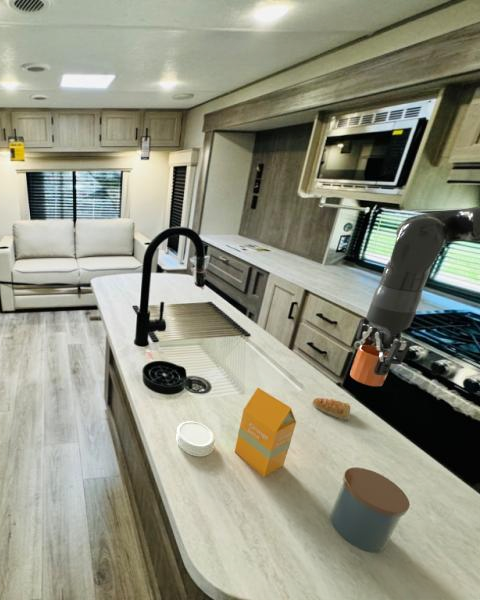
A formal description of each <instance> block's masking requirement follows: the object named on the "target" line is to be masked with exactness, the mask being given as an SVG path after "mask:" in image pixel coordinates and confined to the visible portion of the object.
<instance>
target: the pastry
mask: <svg viewBox="0 0 480 600" xmlns="http://www.w3.org/2000/svg"><path fill="white" fill-rule="evenodd" d="M312 406H314V408H316V409H317V410H318V411H320V412H323V413H324V414H326V415H328V416H331V417H334V418H338V420H343V421H348V420H349V419H350V417H351V405H350V403H348V402H343V401H340V400H337V399H335V398H324V397H316V398H315V399H313V400H312Z"/></svg>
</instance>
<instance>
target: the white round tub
mask: <svg viewBox="0 0 480 600" xmlns="http://www.w3.org/2000/svg"><path fill="white" fill-rule="evenodd" d="M175 439H176V444H177V445H178V447H179V448H180V449H181V450H182V451H183V452H185V453H187V454H188V455H189V456H190V455H191V456H194V457H207V456H209V455H211V453H212V452H213V451H214V447H215V442H216V439H215V434H214V433H213V431H212V430H211V429H210V428H209V427H207V426H206V425H205V424H204V423H200V422H197V421H192V420H191V421H189V420H188V421H184V422H182V423H180V424H179V425H178V426H177V428H176V434H175Z"/></svg>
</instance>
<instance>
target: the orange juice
mask: <svg viewBox="0 0 480 600" xmlns="http://www.w3.org/2000/svg"><path fill="white" fill-rule="evenodd" d="M241 415H242V416H241V420H240V425H239V428H238V432H237V439H236V444H235V448H234V453H236V454H237V455H238V456H239V457H240V459H242V460H244V462H246V463H247V464H248V465H249V466H251V467H252V468H253V469H254V470H255V471H256V472H257V473H258V474H260V475H261V476H262V477H263V478H265V477H267V476H268V475H270V474H272V473H273V472H276V471H277V470H278V469H280V468H283V467H284V464H285V462H286V458H287V455H288V451H289V449H290V446H291V442H292V438H293V435H294V432H295V429H296V424H297V421H296V418H295V416H294V412H293V410H292V407H291V406H289V405H287V404H286V403H284V402H282V401H281V400H279V399H277V398H276V397H275V396H272V395H271V394H269V393H268V392H266V391H265V390H263V389H261V388H260V387H257V388H256V390H255V391H254V393H253V394H252V395H251V397H250V399H249V401H248V402H247V404H246V405H245V406H244V408H243V410H242V414H241Z"/></svg>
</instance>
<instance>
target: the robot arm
mask: <svg viewBox="0 0 480 600" xmlns="http://www.w3.org/2000/svg"><path fill="white" fill-rule="evenodd" d="M395 233H396V234H395V235H396V239H395V241H394V245H393V249H392V252H391V255H390V259H389V260H388V262H387V263H386V265H385V266H384V269H383V272H382V274H381V277H380V280H379V284H378V286H377V287H376V288H375V289H376V290H375V291H374V294H373V296H372V300H371V303H370V305H369V308H368V310H367V314H366V317H361V318H360V320H359V321H360V322H359V326H358V330H357V333H356V340H359V346H361V345H373V346H376V349H377V351H378V352H379V360H378V362H377V365H376V367H375V370H374V373H375V374H376V375H386V374H387V373H389V372H390V369H389V368H391V366H392V365H401V364H402V363H403V361H404V359H405V357H406V356H407V353H408V352H409V350H410V348H411V346H412V344H411V342H410V341H404V340H403V339H402V331H404V330H406V329H409V328H410V327H411V324H412V322H413V320H414V317H415V314H416V313H417V310H418V307H419V305H420V302H421V299H422V295H423V291H424V288H425V286H426V283H427V280H428V278H429V275H430V272H431V269H432V266H433V264H434V263H435V262H436V261H437V258H438V256H439V254H440V253H441V251H442V249H443V247H444V245H445V244H447V243H455V242H464V241H466V242H475V243H476V242H477V243H478V242H480V205H478V206H474V207H469V208H460V209H451V210H441V211H433V212H428V213H421V214H417V215H413V216H410V217H408V218H405V220H403V221H402V222H401V223H400V224H399V225H398V227H397V229H396V232H395ZM386 347H387V348H386ZM388 347H389V348H388ZM385 352H388V354H387V357H385ZM387 375H388V374H387Z"/></svg>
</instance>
